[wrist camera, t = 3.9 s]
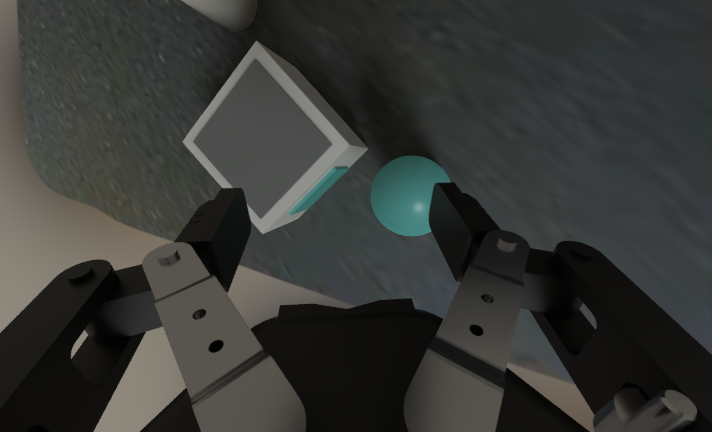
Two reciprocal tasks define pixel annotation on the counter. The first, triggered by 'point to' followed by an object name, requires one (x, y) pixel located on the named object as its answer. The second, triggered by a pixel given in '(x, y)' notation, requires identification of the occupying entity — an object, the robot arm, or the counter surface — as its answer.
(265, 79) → the grey unit
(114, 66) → the counter surface
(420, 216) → the teal capped canister
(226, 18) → the white spice bottle
